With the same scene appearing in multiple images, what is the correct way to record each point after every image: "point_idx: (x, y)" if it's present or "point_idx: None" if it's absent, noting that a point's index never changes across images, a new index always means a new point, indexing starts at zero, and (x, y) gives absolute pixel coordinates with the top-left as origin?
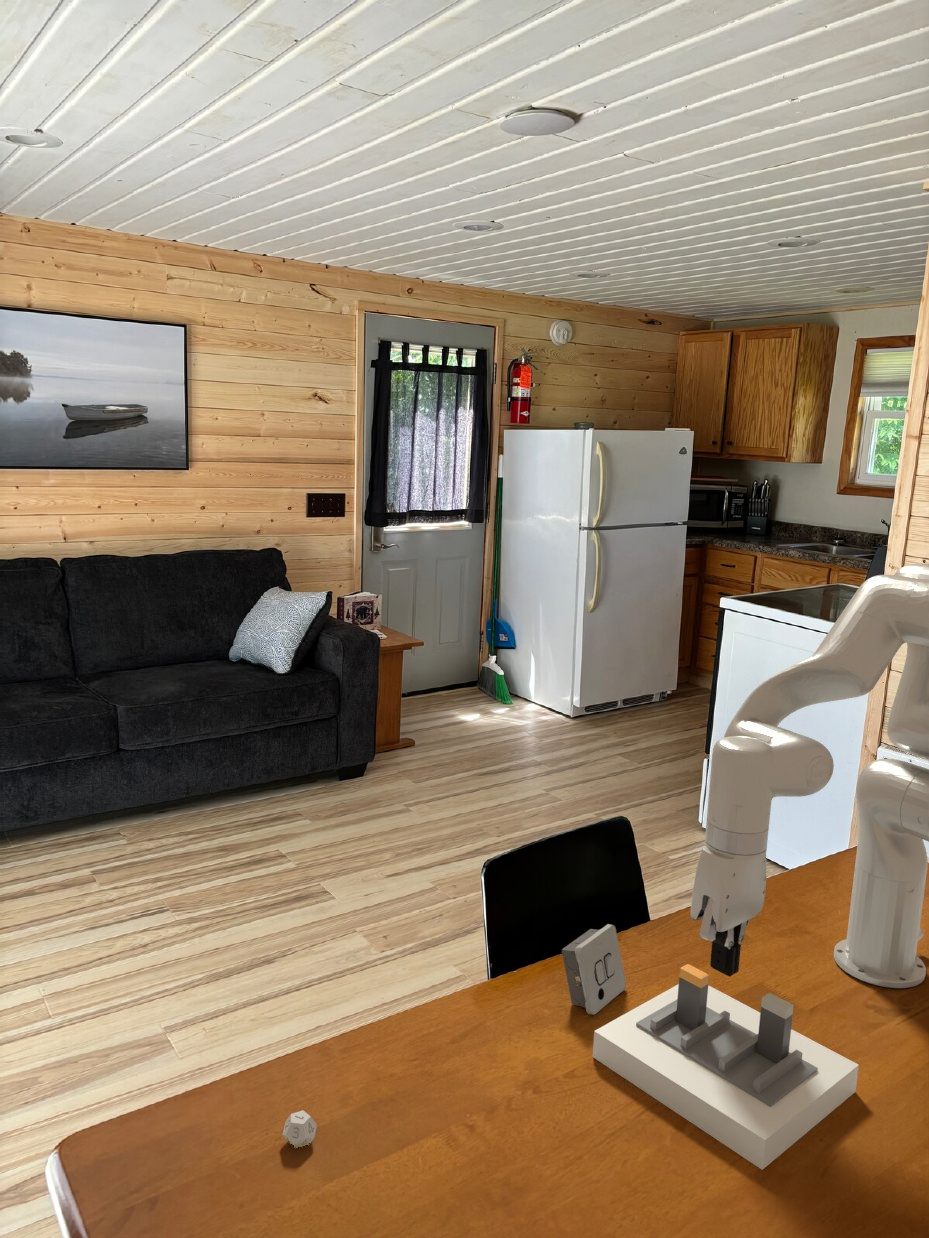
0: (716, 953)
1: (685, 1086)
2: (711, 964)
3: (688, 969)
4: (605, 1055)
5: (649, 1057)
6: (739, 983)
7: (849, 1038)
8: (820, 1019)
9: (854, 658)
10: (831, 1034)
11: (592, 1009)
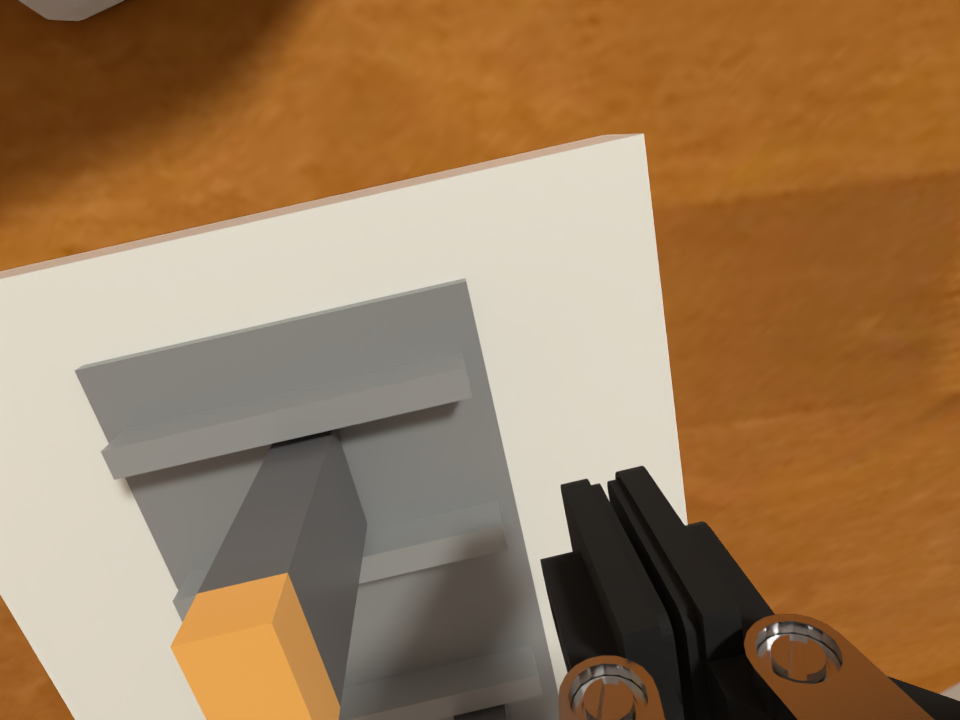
0: (562, 640)
1: (86, 717)
2: (563, 497)
3: (226, 678)
4: None
5: (31, 558)
6: (900, 130)
7: (897, 557)
8: (923, 452)
9: None
10: (871, 523)
11: (45, 13)
